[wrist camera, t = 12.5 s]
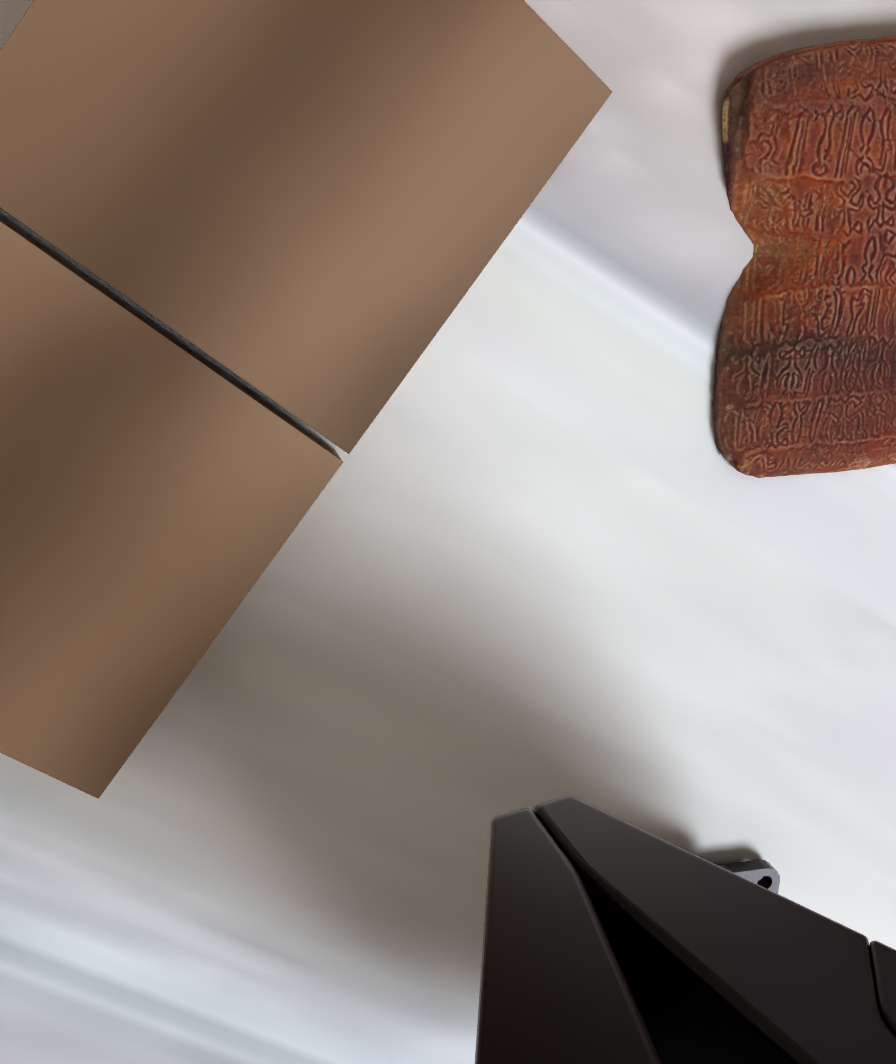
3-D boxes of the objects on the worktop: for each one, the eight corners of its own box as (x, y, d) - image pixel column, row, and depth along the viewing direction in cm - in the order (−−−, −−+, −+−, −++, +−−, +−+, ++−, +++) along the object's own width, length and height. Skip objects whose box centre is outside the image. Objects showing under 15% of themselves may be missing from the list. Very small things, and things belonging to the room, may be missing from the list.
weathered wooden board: (580, 108, 18) (612, 91, 17) (108, 760, 19) (98, 798, 18) (232, -241, 15) (232, -300, 14) (-301, 558, 16) (-354, 585, 15)
